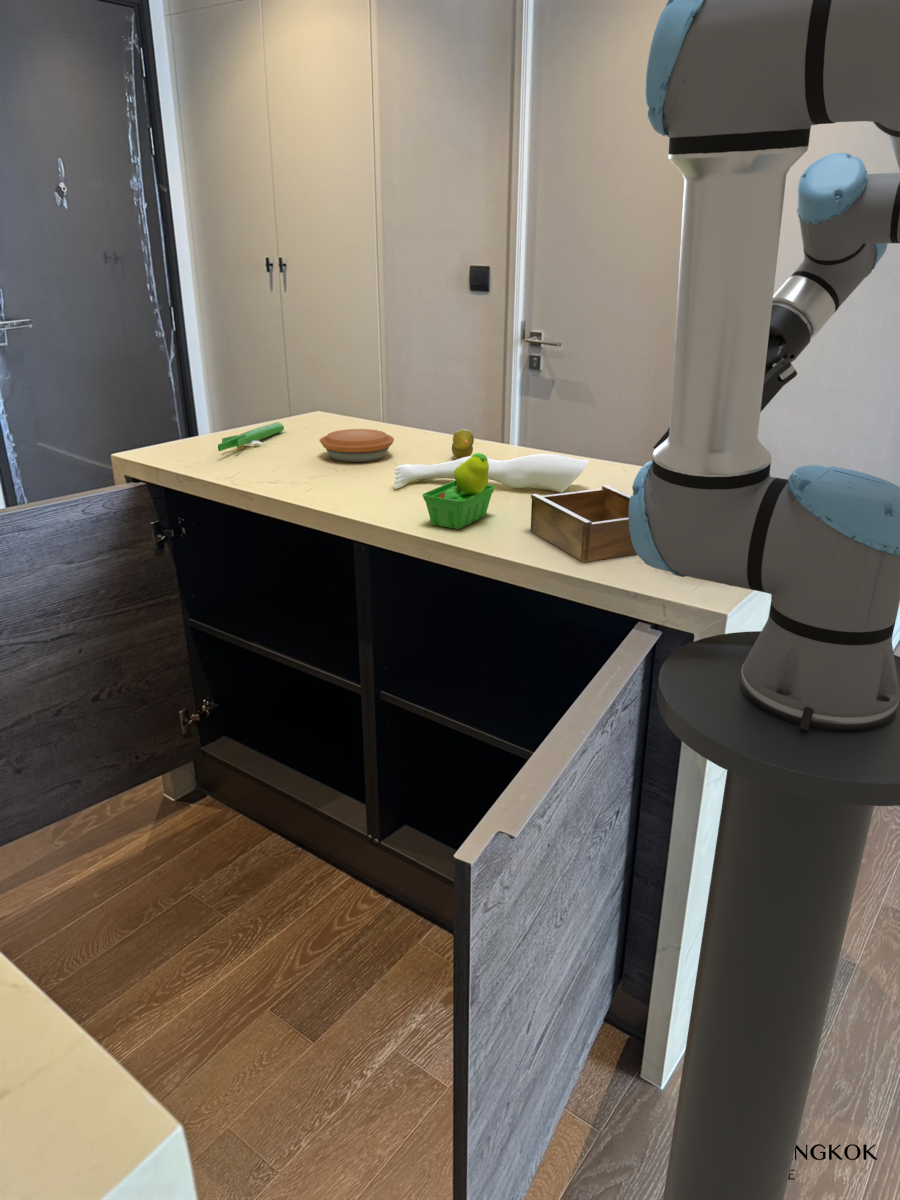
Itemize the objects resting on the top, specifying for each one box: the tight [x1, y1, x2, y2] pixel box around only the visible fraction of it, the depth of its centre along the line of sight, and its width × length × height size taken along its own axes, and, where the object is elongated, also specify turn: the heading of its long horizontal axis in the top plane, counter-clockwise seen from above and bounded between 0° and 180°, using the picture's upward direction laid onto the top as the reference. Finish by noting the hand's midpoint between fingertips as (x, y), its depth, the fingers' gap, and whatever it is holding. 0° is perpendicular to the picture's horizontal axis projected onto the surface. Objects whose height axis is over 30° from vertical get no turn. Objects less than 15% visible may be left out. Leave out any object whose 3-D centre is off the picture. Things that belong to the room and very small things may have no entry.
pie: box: [318, 428, 395, 463], centre depth 180 cm, size 16×16×5 cm
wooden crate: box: [530, 484, 637, 563], centre depth 129 cm, size 16×14×6 cm
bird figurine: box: [451, 428, 475, 459], centre depth 178 cm, size 4×15×6 cm, turn 6°
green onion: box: [217, 422, 285, 452], centre depth 190 cm, size 5×3×30 cm
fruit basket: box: [422, 452, 496, 530], centre depth 137 cm, size 11×9×11 cm
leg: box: [393, 453, 591, 494], centre depth 157 cm, size 7×35×10 cm
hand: (672, 458), depth 113 cm, fingers closed on carrot, 5 cm apart
